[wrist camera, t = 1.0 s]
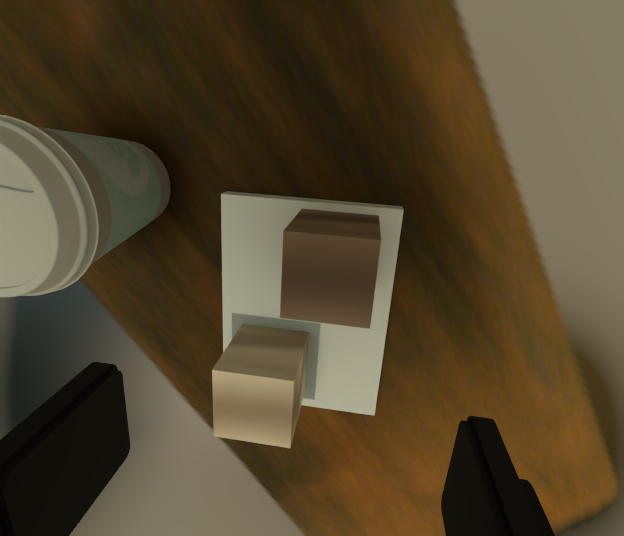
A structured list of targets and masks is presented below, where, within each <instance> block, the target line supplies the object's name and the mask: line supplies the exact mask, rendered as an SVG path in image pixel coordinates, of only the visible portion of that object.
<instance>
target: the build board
mask: <svg viewBox="0 0 624 536" xmlns="http://www.w3.org/2000/svg"><path fill="white" fill-rule="evenodd" d="M301 209H312V210H323V211H334V212H345V213H357V214H368V215H379V222H380V233H381V246H380V254H379V262H378V270H377V278H376V286H375V293H374V301H373V309H372V317H371V325H370V329H368V328H360V327H352V326H343V325H335V324H327V323H319V322H310V321H302V320H294V319H285V318H280V302H281V277H282V251H283V230H284V229H285V228H286V227H287V226H288V225H289V223H290V222H291V221H292V220H293V219H294V217H295V216H296V215H297V214H298V213H299V212H300V210H301ZM403 211H404V209H403V207H402V206H392V205H381V204H369V203H358V202H346V201H335V200H323V199H312V198H300V197H289V196H277V195H266V194H254V193H243V192H231V191H226V192H224V193H222V194H221V230H222V297H223V353H224V351H225V350H226V348H227V347H228V345H229V343H230V342H231V340H232V339H233V337H234V336H235V334H236V333H237V331H238V330H239V328H240V327H241V325H242V324H246V325H254V326H262V327H270V328H278V329H286V330H294V331H303V332H309V337H308V352H307V367H306V382H305V392H304V396H303V400H302V404H301V405H305V406H312V407H319V408H326V409H333V410H340V411H347V412H353V413H360V414H367V415H374V416H375V409H376V402H377V395H378V388H379V381H380V374H381V367H382V359H383V352H384V345H385V338H386V331H387V324H388V317H389V310H390V303H391V296H392V289H393V282H394V275H395V268H396V261H397V254H398V247H399V240H400V233H401V226H402V218H403Z"/></svg>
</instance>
